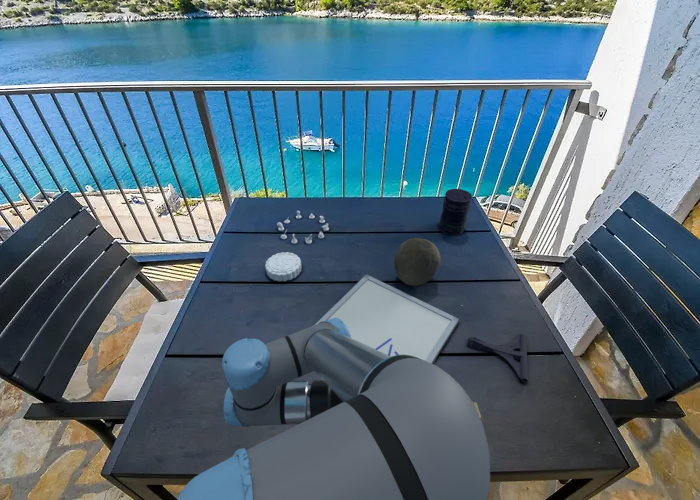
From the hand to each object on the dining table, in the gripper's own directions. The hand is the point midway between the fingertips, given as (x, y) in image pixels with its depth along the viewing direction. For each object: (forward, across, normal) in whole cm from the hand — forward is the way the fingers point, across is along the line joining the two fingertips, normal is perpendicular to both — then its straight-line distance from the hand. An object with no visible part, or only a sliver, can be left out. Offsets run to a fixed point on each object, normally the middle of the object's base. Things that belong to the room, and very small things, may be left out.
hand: (422, 398), depth 66 cm
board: (-3, -29, -16) cm, 33 cm away
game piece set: (-30, -80, -16) cm, 86 cm away
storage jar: (+29, -78, -16) cm, 85 cm away
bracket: (+26, -21, -16) cm, 37 cm away
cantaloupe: (+9, -49, -16) cm, 53 cm away
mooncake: (-34, -55, -16) cm, 67 cm away
